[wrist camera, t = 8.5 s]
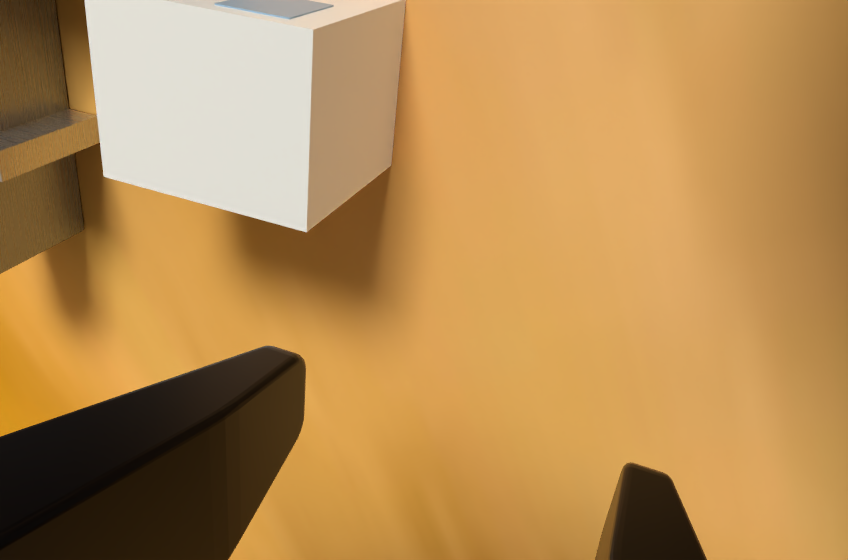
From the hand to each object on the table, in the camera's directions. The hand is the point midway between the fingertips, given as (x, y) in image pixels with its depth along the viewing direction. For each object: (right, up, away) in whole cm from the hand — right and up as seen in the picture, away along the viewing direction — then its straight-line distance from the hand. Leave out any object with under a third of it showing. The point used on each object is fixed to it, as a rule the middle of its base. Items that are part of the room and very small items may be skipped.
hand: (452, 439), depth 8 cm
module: (-3, +7, +11) cm, 13 cm away
